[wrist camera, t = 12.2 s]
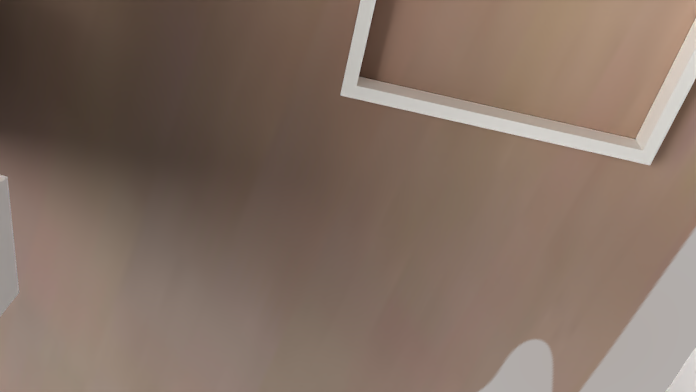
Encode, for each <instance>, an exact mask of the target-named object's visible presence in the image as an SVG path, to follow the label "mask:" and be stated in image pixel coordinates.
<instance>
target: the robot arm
mask: <svg viewBox="0 0 696 392" xmlns="http://www.w3.org/2000/svg"><path fill="white" fill-rule="evenodd" d="M18 293H19V286H18V276H17V266H16V256H15V246H14V236H13V226H12V216H11V206H10V196H9V187H8V177H7V176H3V175H0V316H1V315H2V314H3V312H4V311H5V310H6V309H7V307H8V306H9V305H10V304H11V302H12V301H13V300H14V299H15V297H16V296H17V295H18ZM666 392H696V347H695V349H694V350H693V352H692V353H691V355H690V356H689V358H688V359H687V361H686V362H685V364H684V365H683V367H682V368H681V369H680V371H679V373H678V374H677V375H676V377H675V378H674V380H673V381H672V383H671V384H670V386H669V387H668V389H667V390H666Z"/></svg>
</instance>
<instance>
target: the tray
mask: <svg viewBox="0 0 696 392" xmlns="http://www.w3.org/2000/svg"><path fill="white" fill-rule="evenodd" d="M375 3H376V0H361V1H360V5H359V10H358V15H357V19H356V24H355V29H354V33H353V38H352V43H351V47H350V52H349V57H348V61H347V66H346V71H345V75H344V80H343V85H342V89H341V94H340V96H345V97H349V98H354V99H358V100H362V101H367V102H371V103H376V104H380V105H385V106H389V107H393V108H398V109H402V110H407V111H411V112H416V113H420V114H425V115H429V116H433V117H438V118H442V119H447V120H451V121H456V122H460V123H464V124H469V125H473V126H478V127H482V128H487V129H491V130H495V131H500V132H504V133H509V134H513V135H518V136H522V137H527V138H531V139H535V140H540V141H544V142H549V143H553V144H558V145H562V146H566V147H571V148H575V149H580V150H584V151H589V152H593V153H597V154H602V155H606V156H611V157H615V158H620V159H624V160H628V161H633V162H637V163H642V164H646V165H651V163H652V161H653V159H654V157H655V155H656V153H657V151H658V149H659V147H660V146H661V144H662V142H663V140H664V138H665V136H666V134H667V132H668V130H669V128H670V127H671V125H672V123H673V121H674V119H675V117H676V115H677V113H678V111H679V109H680V107H681V106H682V104H683V102H684V100H685V98H686V96H687V94H688V92H689V90H690V88H691V87H692V85H693V83H694V81H695V79H696V18H695V20H694V22H693V24H692V26H691V28H690V30H689V32H688V34H687V36H686V38H685V40H684V42H683V44H682V46H681V48H680V50H679V52H678V54H677V56H676V58H675V60H674V62H673V64H672V66H671V69H670V71H669V73H668V75H667V77H666V79H665V81H664V83H663V85H662V87H661V89H660V91H659V93H658V95H657V97H656V99H655V101H654V103H653V105H652V107H651V109H650V111H649V113H648V115H647V117H646V119H645V121H644V123H643V125H642V127H641V129H640V131H639V133H638V135H637V137H636V139H633V138H628V137H624V136H619V135H615V134H611V133H606V132H602V131H597V130H593V129H588V128H584V127H580V126H575V125H571V124H566V123H562V122H558V121H553V120H549V119H544V118H540V117H536V116H531V115H527V114H522V113H518V112H514V111H509V110H505V109H500V108H496V107H492V106H487V105H483V104H478V103H474V102H469V101H465V100H461V99H456V98H452V97H447V96H443V95H439V94H434V93H430V92H425V91H421V90H417V89H412V88H408V87H403V86H399V85H395V84H390V83H386V82H381V81H377V80H373V79H368V78H364V77H359V73H360V69H361V64H362V60H363V56H364V51H365V47H366V42H367V38H368V34H369V29H370V25H371V20H372V16H373V12H374V7H375Z"/></svg>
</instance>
